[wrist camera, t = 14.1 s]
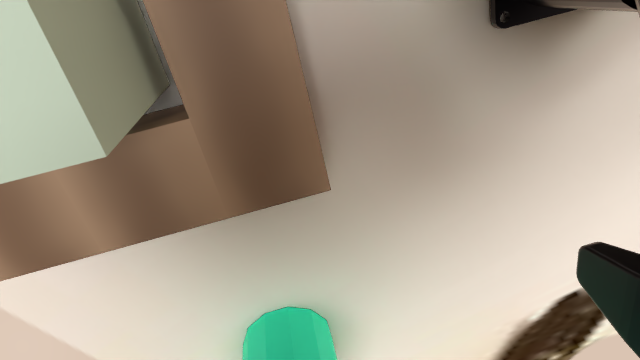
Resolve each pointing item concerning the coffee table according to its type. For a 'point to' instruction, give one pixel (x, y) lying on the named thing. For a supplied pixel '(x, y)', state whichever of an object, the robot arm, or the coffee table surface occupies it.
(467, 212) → the coffee table surface
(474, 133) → the coffee table surface
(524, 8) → the robot arm
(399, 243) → the coffee table surface
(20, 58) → the sage peg
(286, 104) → the walnut well block
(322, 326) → the candle
